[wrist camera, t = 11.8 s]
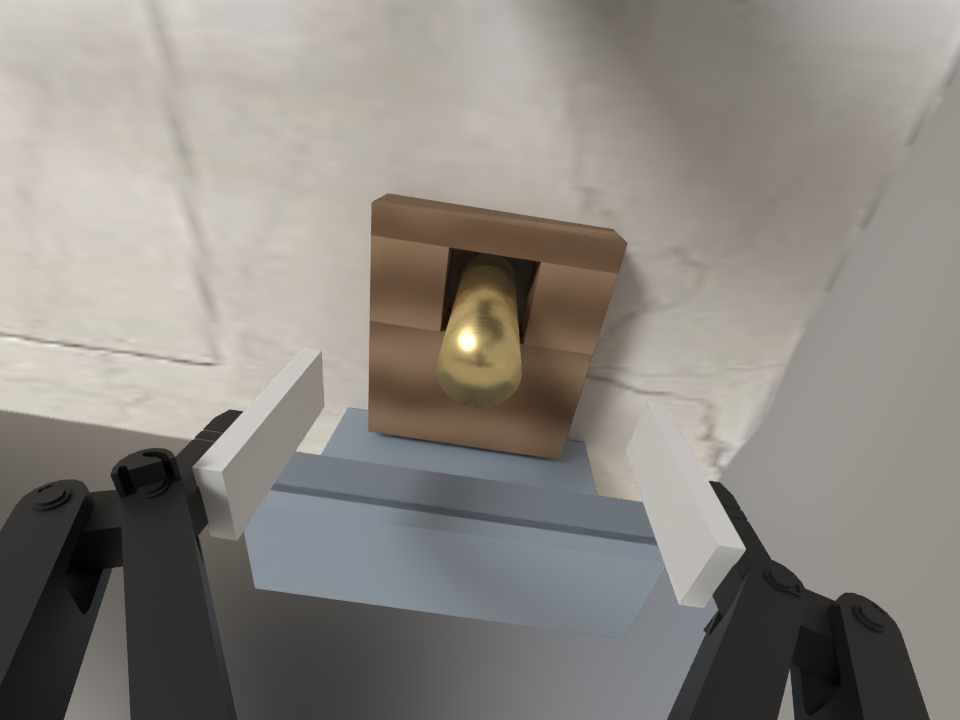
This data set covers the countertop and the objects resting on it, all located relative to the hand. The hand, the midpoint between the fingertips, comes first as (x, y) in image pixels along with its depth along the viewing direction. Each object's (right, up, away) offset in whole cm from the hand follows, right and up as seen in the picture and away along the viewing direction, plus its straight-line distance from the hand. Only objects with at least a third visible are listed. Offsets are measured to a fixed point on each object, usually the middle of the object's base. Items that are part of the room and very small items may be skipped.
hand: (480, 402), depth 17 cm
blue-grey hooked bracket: (-1, -2, +20) cm, 21 cm away
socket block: (0, +4, +17) cm, 17 cm away
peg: (+1, +8, +15) cm, 17 cm away
